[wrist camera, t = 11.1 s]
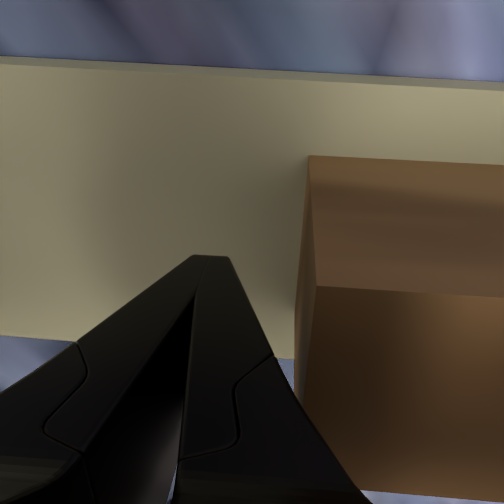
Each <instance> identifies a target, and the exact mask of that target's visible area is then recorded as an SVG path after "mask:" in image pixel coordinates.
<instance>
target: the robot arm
mask: <svg viewBox="0 0 504 504" xmlns="http://www.w3.org/2000/svg"><path fill="white" fill-rule="evenodd" d="M177 463H178V464H177ZM176 466H177V470H176ZM175 470H176V478H175V486H174V491H173V497H172V500H171V503H170V504H373V503H371V502H370V501H369V500H368V499H367V498H366V497H365V496H364V495H363V493H362V492H361V491H360V490H359V489H358V487H357V486H356V485H355V484H354V482H353V481H352V479H351V478H350V477H349V475H348V474H347V472H346V471H345V469H344V468H343V466H342V465H341V463H340V462H339V461H338V459H337V458H336V456H335V455H334V453H333V452H332V450H331V449H330V447H329V446H328V444H327V443H326V441H325V440H324V438H323V437H322V435H321V434H320V432H319V431H318V430H317V428H316V427H315V425H314V424H313V422H312V421H311V419H310V418H309V416H308V415H307V413H306V412H305V410H304V408H303V407H302V405H301V404H300V402H299V400H298V399H297V397H296V396H295V394H294V392H293V391H292V389H291V387H290V385H289V383H288V381H287V379H286V377H285V375H284V373H283V371H282V369H281V367H280V365H279V363H278V361H277V358H276V357H275V356H274V353H273V350H272V348H271V346H270V344H269V342H268V340H267V337H266V335H265V333H264V331H263V329H262V327H261V324H260V322H259V320H258V318H257V316H256V314H255V311H254V309H253V307H252V305H251V303H250V301H249V299H248V296H247V294H246V292H245V290H244V288H243V286H242V283H241V281H240V279H239V277H238V275H237V273H236V270H235V268H234V266H233V264H232V262H231V260H230V258H229V257H228V256H215V255H197V254H194V255H191V256H190V257H188V258H187V259H186V260H184V261H183V262H182V263H180V264H179V265H177V266H176V267H175V268H173V269H172V270H171V271H169V272H168V273H167V274H165V275H164V276H163V277H161V278H160V279H159V280H157V281H156V282H155V283H153V284H152V285H151V286H149V287H148V288H146V289H145V290H144V291H142V292H141V293H140V294H138V295H137V296H136V297H134V298H133V299H132V300H130V301H129V302H128V303H126V304H125V305H124V306H122V307H121V308H120V309H118V310H117V311H115V312H114V313H113V314H111V315H110V316H109V317H107V318H106V319H105V320H103V321H102V322H101V323H99V324H98V325H97V326H95V327H94V328H93V329H91V330H90V331H89V332H87V333H86V334H84V335H83V336H82V337H80V338H79V339H78V340H77V341H76V343H72V344H71V345H69V346H68V347H67V348H65V349H64V350H63V351H61V352H60V353H59V354H57V355H56V356H54V357H53V358H52V359H50V360H49V361H47V362H46V363H44V364H43V365H42V366H40V367H39V368H37V369H36V370H35V371H33V372H32V373H30V374H29V375H27V376H25V377H24V378H22V379H21V380H19V381H18V382H16V383H15V384H13V385H11V386H10V387H8V388H7V389H5V390H4V391H2V392H1V393H0V504H166V502H167V498H168V495H169V491H170V488H171V484H172V481H173V477H174V473H175Z"/></svg>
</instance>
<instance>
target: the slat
mask: <svg viewBox="0 0 504 504" xmlns="http://www.w3.org/2000/svg"><path fill="white" fill-rule="evenodd" d="M294 394H295V396H296V397H297V399H298V400H299V402H300V404H301V405H302V407H303V408H304V410H305V412H306V413H307V415H308V416H309V418H310V419H311V421H312V422H313V424H314V425H315V427H316V428H317V430H318V431H319V432H320V434H321V435H322V437H323V438H324V440H325V441H326V443H327V444H328V446H329V447H330V449H331V450H332V452H333V453H334V455H335V456H336V458H337V459H338V461H339V462H340V463H341V465H342V466H343V468H344V469H345V471H346V472H347V474H348V475H349V477H350V478H351V479H352V481H353V482H354V484H355V485H356V486H357V487H358V489H359V490H367V491H378V492H390V493H401V494H412V495H424V496H435V497H446V498H458V499H469V500H480V501H492V502H503V503H504V165H494V164H474V163H454V162H435V161H415V160H395V159H376V158H356V157H336V156H317V155H309V156H308V168H307V179H306V190H305V201H304V212H303V223H302V234H301V245H300V256H299V267H298V279H297V290H296V301H295V312H294Z"/></svg>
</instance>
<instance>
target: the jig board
mask: <svg viewBox="0 0 504 504" xmlns="http://www.w3.org/2000/svg"><path fill="white" fill-rule="evenodd" d="M309 155H317V156H336V157H356V158H376V159H395V160H415V161H435V162H454V163H474V164H494V165H504V82H489V81H470V80H451V79H431V78H412V77H393V76H374V75H355V74H336V73H317V72H298V71H279V70H260V69H241V68H222V67H203V66H184V65H165V64H146V63H127V62H108V61H89V60H70V59H51V58H32V57H13V56H0V335H3V336H15V337H27V338H39V339H51V340H63V341H75V342H76V341H77V340H78V339H79V338H80V337H82V336H83V335H84V334H86V333H87V332H89V331H90V330H91V329H93V328H94V327H95V326H97V325H98V324H99V323H101V322H102V321H103V320H105V319H106V318H107V317H109V316H110V315H111V314H113V313H114V312H115V311H117V310H118V309H120V308H121V307H122V306H124V305H125V304H126V303H128V302H129V301H130V300H132V299H133V298H134V297H136V296H137V295H138V294H140V293H141V292H142V291H144V290H145V289H146V288H148V287H149V286H151V285H152V284H153V283H155V282H156V281H157V280H159V279H160V278H161V277H163V276H164V275H165V274H167V273H168V272H169V271H171V270H172V269H173V268H175V267H176V266H177V265H179V264H180V263H182V262H183V261H184V260H186V259H187V258H188V257H190V256H191V255H194V254H197V255H215V256H228V257H229V258H230V260H231V262H232V264H233V266H234V268H235V270H236V273H237V275H238V277H239V279H240V281H241V283H242V286H243V288H244V290H245V292H246V294H247V296H248V299H249V301H250V303H251V305H252V307H253V309H254V311H255V314H256V316H257V318H258V320H259V322H260V324H261V327H262V329H263V331H264V333H265V335H266V337H267V340H268V342H269V344H270V346H271V348H272V350H273V353H274V356H275V357H276V358H282V359H294V312H295V301H296V290H297V279H298V267H299V256H300V245H301V234H302V223H303V212H304V201H305V190H306V179H307V168H308V156H309Z"/></svg>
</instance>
